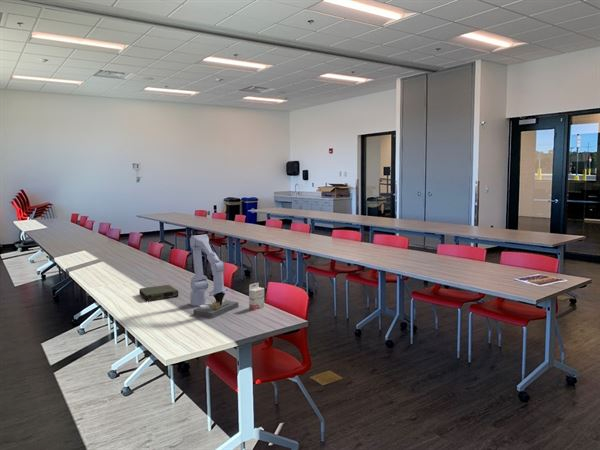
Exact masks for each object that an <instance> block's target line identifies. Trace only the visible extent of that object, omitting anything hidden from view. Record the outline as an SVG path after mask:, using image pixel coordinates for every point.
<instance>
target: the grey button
mask: <svg viewBox="0 0 600 450" xmlns="http://www.w3.org/2000/svg"><path fill="white" fill-rule="evenodd" d="M198 308H200V309H202V310H206V309H209V306H208V305H203V306H198Z"/></svg>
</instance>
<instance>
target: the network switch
mask: <svg viewBox="0 0 600 450" xmlns="http://www.w3.org/2000/svg"><path fill="white" fill-rule="evenodd" d="M139 296H141V297H142V299H143V300H144V301H146V302H147V301H148V302H150V301H155V300H163V299H164V300H165V299H169V298H175V297H179V290H178V289H176V288H175V287H173V286H171V285H170V284H164V285H156V286H148V287H141V288H139Z"/></svg>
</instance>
